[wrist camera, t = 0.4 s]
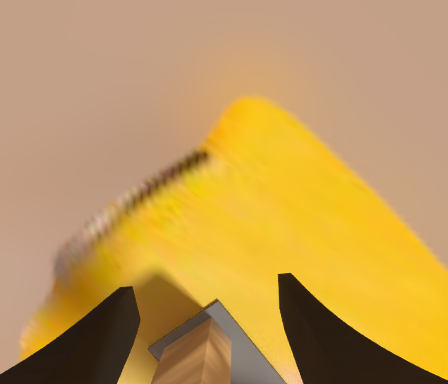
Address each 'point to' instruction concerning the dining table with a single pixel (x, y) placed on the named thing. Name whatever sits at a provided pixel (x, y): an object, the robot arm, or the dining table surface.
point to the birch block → (197, 357)
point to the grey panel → (240, 348)
